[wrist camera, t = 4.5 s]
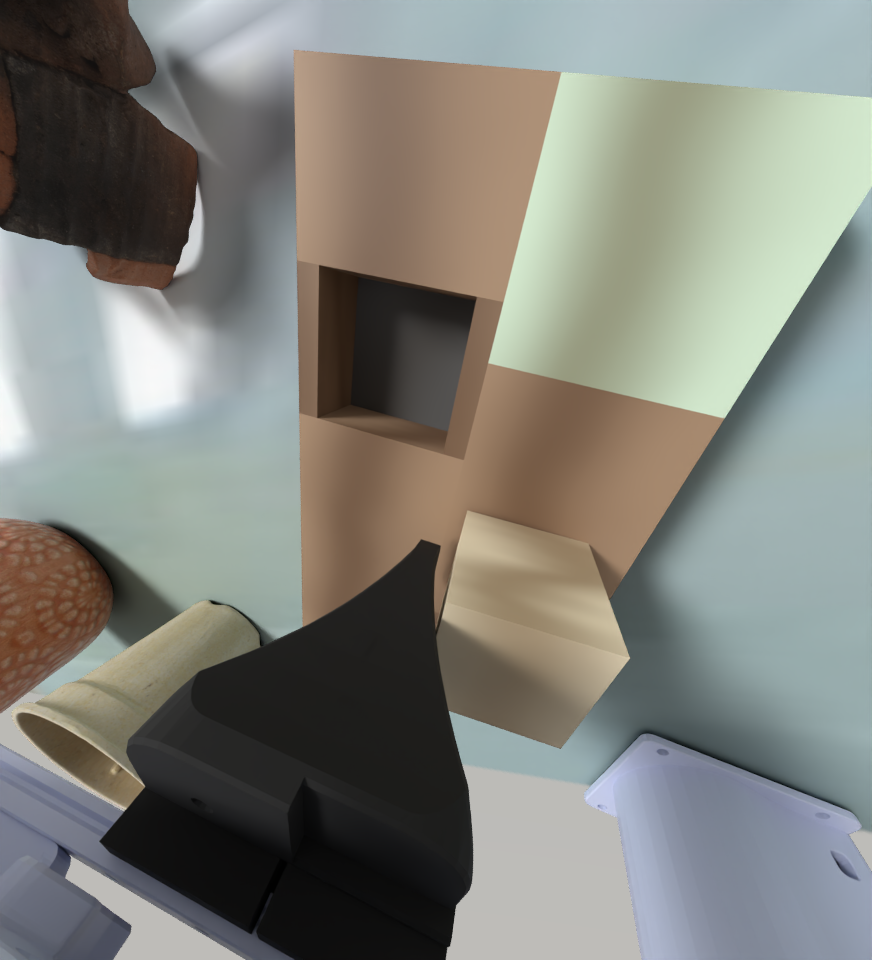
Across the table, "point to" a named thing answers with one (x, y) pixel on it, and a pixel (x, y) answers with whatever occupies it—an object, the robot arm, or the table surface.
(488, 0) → the table surface
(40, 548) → the planter
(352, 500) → the board
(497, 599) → the birch block
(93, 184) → the pottery mug
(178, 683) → the flower pot
